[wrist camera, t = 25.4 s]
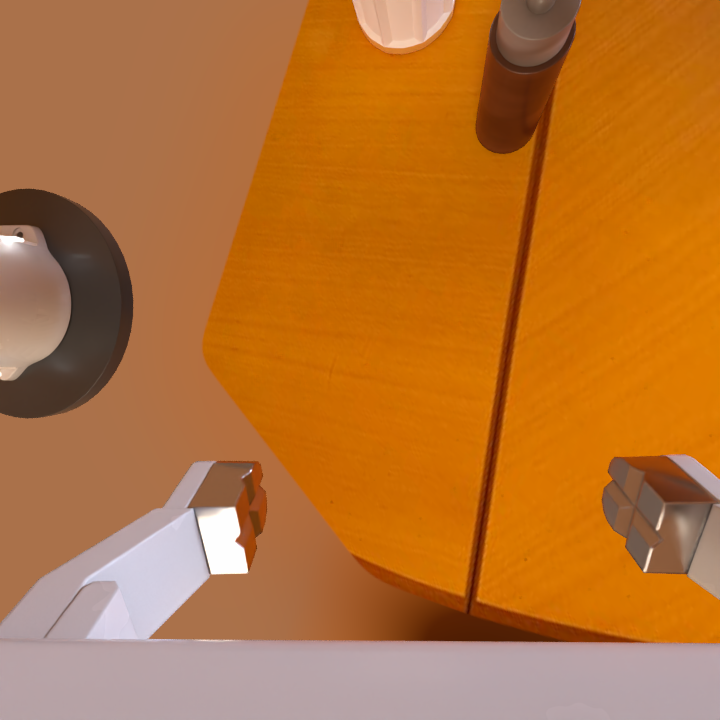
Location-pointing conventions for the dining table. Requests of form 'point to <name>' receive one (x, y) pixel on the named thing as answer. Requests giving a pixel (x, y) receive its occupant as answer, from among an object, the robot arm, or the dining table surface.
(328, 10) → the dining table surface
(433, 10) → the cup
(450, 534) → the dining table surface
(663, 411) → the dining table surface
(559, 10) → the pepper mill
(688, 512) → the robot arm
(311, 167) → the dining table surface
